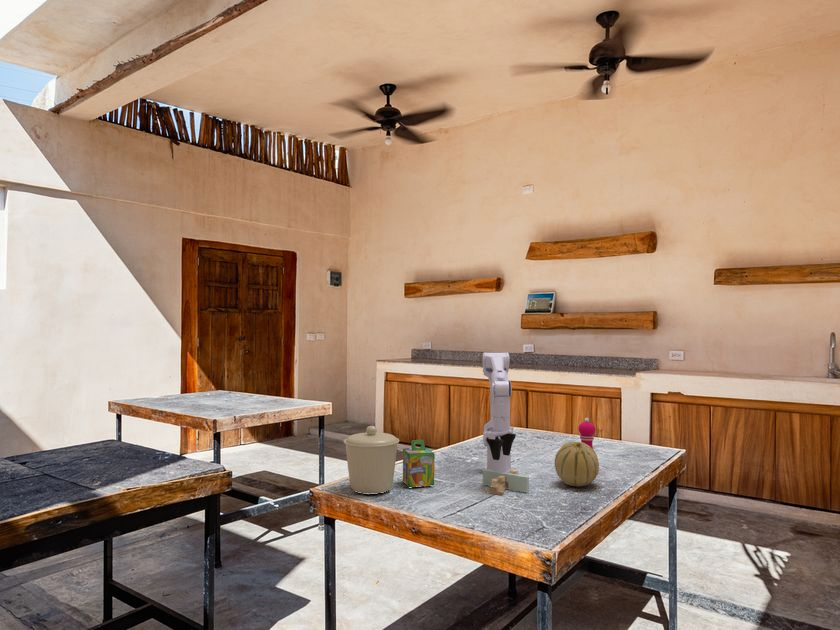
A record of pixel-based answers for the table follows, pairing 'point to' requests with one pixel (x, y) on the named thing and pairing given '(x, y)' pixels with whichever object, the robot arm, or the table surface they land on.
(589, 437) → the pepper mill
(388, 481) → the canister
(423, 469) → the chalk box
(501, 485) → the wooden rack
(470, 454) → the table surface
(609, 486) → the table surface
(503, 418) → the robot arm
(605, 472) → the table surface
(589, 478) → the cantaloupe
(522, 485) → the pale gray-green board
